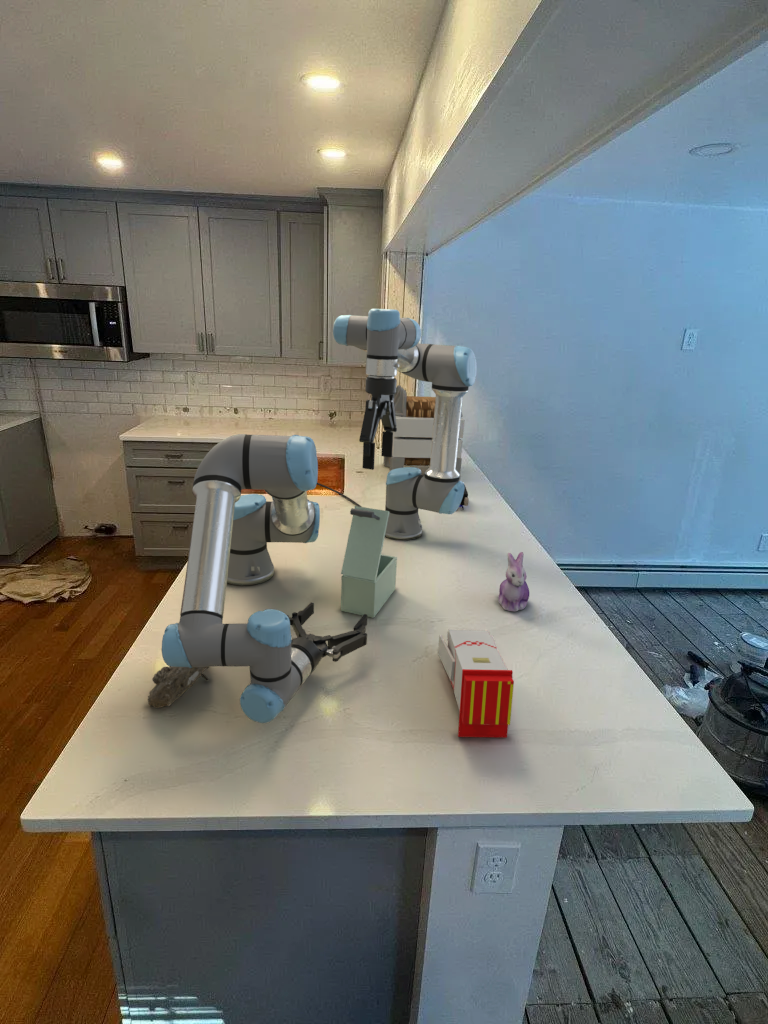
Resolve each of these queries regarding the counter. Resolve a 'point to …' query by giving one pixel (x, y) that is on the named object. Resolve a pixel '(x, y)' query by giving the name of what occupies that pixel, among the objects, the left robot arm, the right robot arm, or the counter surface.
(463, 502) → the figurine character
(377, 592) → the chest
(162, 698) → the fossil
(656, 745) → the counter surface
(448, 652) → the toy
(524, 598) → the figurine
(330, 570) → the counter surface
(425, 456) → the light grey boxy piece
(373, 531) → the lid
